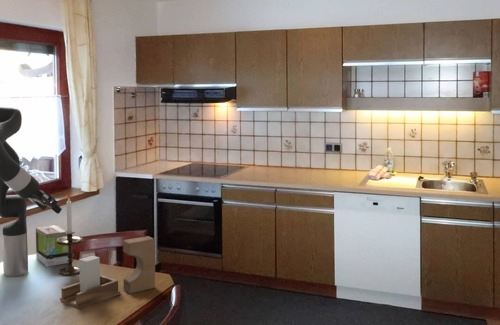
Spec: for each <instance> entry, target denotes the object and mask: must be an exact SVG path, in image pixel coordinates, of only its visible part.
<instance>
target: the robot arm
mask: <svg viewBox="0 0 500 325" xmlns="http://www.w3.org/2000/svg"><path fill="white" fill-rule="evenodd" d="M22 118H23V117H22V112H21V111H20V109H19V108H16V107H6V106H0V217H1V218H2V219H3V218H4V219H5V218H6V219H7V218H10V219H11V218H17V219H16V220H15V221H14V222H12V223H9V224H6V225H5V226H3V227H2V246H3V249H2V250H3V251H2V265H3V273H4V276H6V277H20V276H23V275H26V274H28V273H29V254H28V252H29V250H28V227H27V226H28V225H27V209H28V208H27V207H28V206H27V205H28V204H27V203H28V202H29V203H31V204H32V203H33V205H36V206H37V207H39V208H40V210H42V211H45V210H47V208H49V209H51V210H52V211H53V212H54V213H56V214H57V215H58V214H60V213H61V212H62V210H63V209H62V207H61V206H60V205H58V203H59V202H58V200H56V199H55V197H53V196H52V195H51V194H50V193H48V192H47V191H44V190H42V189H40V188H39V187H40V183H39V182H40V181H39V180H37V179H36V178H35V177H33V175H32V174H30V173H29V172H28V171H27V170H26V169H25V168H23V167H21V161H20V156H19V155H18V153H17V152H16V150H15V149H14V148H13V147H12V146H11V145H10V144H9V143H8V142H7V140H8V139H9V138H10V137H12V136H14V135H15V134H17V133H18V132H19V131H20V130H21V128H22V122H23V121H22ZM9 189H11V191H13V192H14V193H15V194H7V193H8V191H9ZM27 201H28V202H27Z"/></svg>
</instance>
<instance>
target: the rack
mask: <svg viewBox="0 0 500 325" xmlns="http://www.w3.org/2000/svg"><path fill="white" fill-rule="evenodd" d="M119 295H121V290H119V280H118V279H114V278H111V277H108V276H106V275H103V274H100V286H97V287H94V288H91V289H88V290H85V291H83V292H80V281H79V282H76V283H72V284H70V285H67V286H64V287H61V297H59V301H60V302H62V303H65V304H67V305H70V306H72V307H75V308H77V309H79V310H81V309H84V308H87V307H89V306H92V305H94V304H98V303H99V302H103V301H105V300H108V299H110V298H113V297H116V296H119Z"/></svg>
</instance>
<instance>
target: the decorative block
mask: <svg viewBox="0 0 500 325" xmlns="http://www.w3.org/2000/svg"><path fill="white" fill-rule="evenodd" d="M122 244H123V247H122V248H123V253H125V254H126V255H128V256H129V257H130V256H131V257H132V256H133V257H134V258H135V259H136V267H135V269H134V270H133V272H132V273H131V274H130V275H128V276H126V277H124V278H123V290H124V291H125V292H127V293H129V295H132V294H136V293H139V292H143V291H144V292H145V291H148V290H152V289H155V288H156V240H155V238H154V237H151V236H149V235H146V236H141V237H135V238H128V239H123V242H122Z"/></svg>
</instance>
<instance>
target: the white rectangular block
mask: <svg viewBox="0 0 500 325" xmlns="http://www.w3.org/2000/svg"><path fill="white" fill-rule="evenodd" d="M100 259H101V258H100V257H99V256H95V255H90V256H87V257H83V258H80V259H79V261H78V263H79V266H78V267H80V274H79V282H80V292H83V291H85V290H88V289H91V288H94V287H97V286H100V275H101V267H100V265H101V262H100V261H101V260H100Z"/></svg>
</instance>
